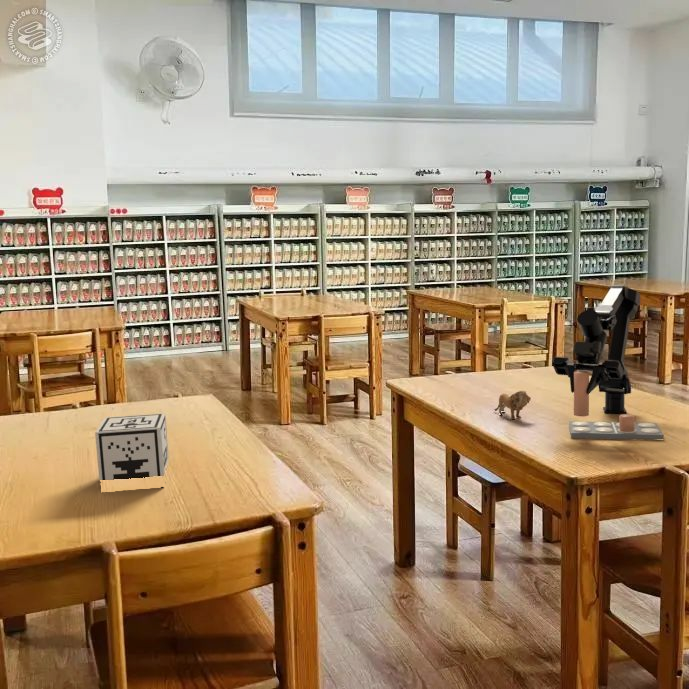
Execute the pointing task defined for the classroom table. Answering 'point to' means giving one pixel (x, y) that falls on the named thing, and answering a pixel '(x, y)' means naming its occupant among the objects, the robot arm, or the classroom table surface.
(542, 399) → the classroom table surface
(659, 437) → the pattern board
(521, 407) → the lion figurine
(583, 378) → the terracotta pin
